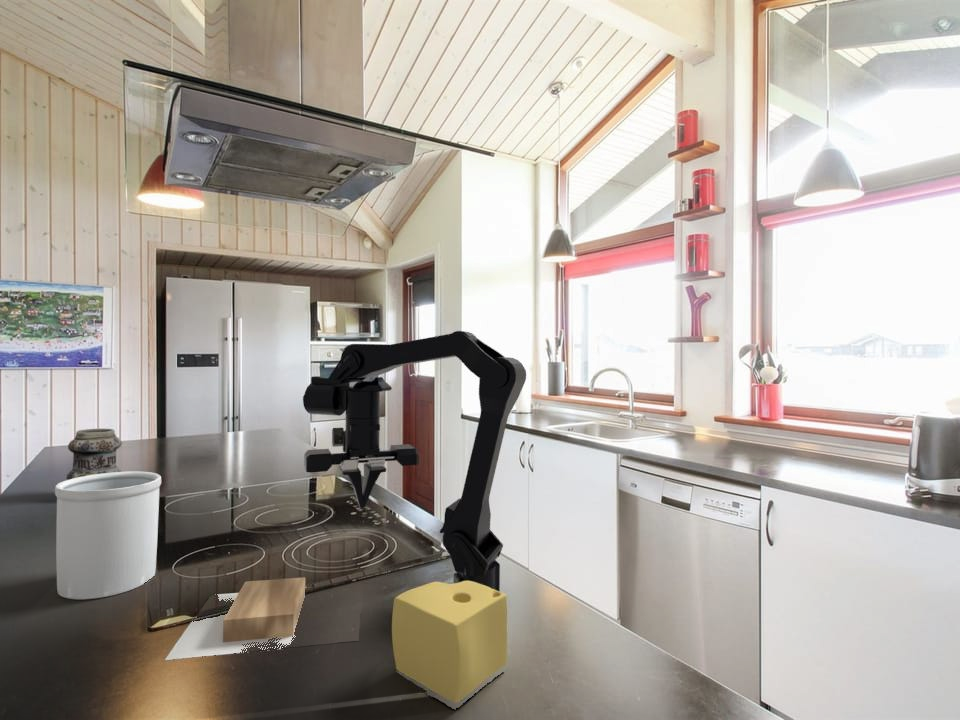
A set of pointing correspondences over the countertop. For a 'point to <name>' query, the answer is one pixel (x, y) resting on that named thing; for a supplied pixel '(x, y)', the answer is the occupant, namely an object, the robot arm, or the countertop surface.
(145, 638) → the countertop surface
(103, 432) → the apothecary jar
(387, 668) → the countertop surface
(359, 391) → the robot arm
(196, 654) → the mat
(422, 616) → the cheese
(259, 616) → the oak board
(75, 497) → the utensil holder
